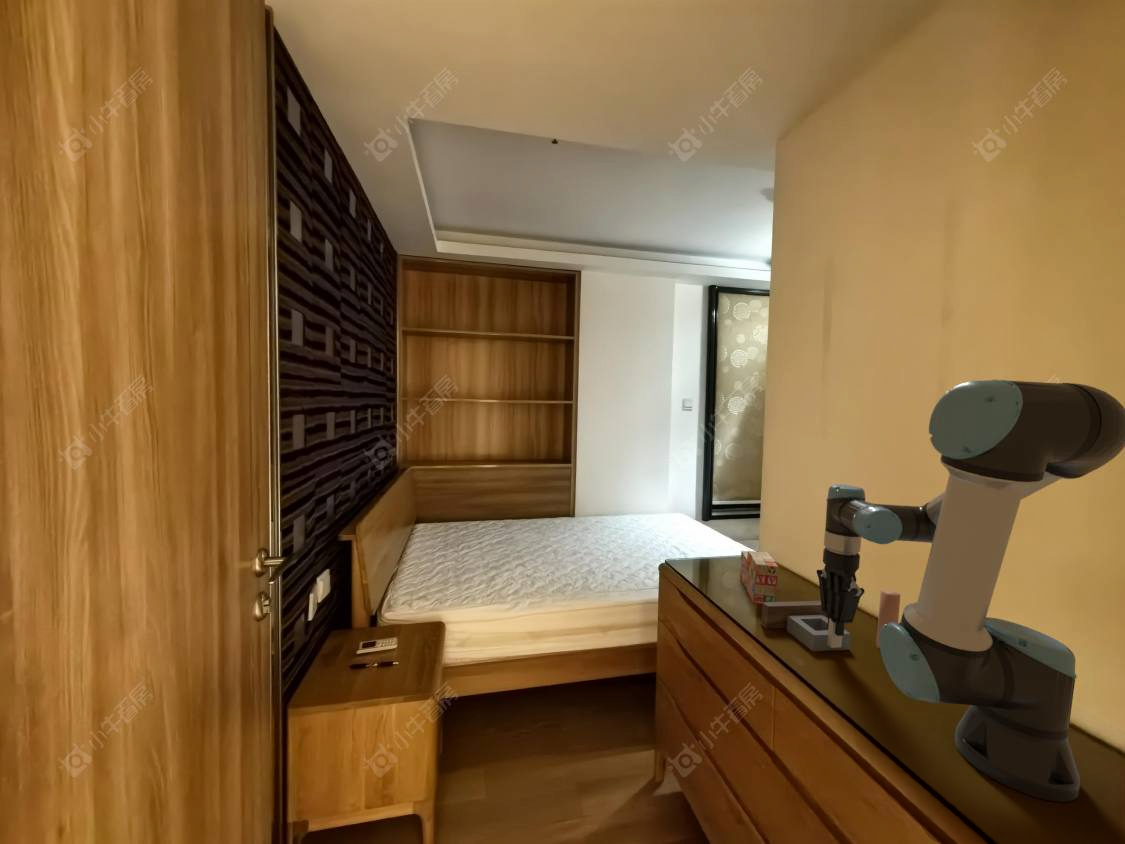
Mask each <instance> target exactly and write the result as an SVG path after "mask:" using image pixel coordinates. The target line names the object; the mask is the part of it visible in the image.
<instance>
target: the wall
mask: <svg viewBox="0 0 1125 844" xmlns="http://www.w3.org/2000/svg"><path fill="white" fill-rule="evenodd" d="M761 606H762V609H761V621H760V622H761V623H760V625H761V624H762V625H761V626H762V627H764V628H765V627H766V628H770V629H787V618H788V616H793V615H823V616H825V617H826V618H828V617H827V614H826V612H825V611H822V608H821V600H804V601H803V600H801V601H800V600H799V601H776V602H763V605H761ZM826 606H827V605H826ZM766 628H765V629H766Z"/></svg>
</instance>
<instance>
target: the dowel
mask: <svg viewBox="0 0 1125 844" xmlns="http://www.w3.org/2000/svg"><path fill="white" fill-rule="evenodd" d="M900 606H901V594H900V593H899V592H897V591H894V590H891V589H881V590H880V593H879V609H878V618H877V619H878V621H877V630H876V631H877V633H876V643H875V645H876V648H878V649H879V650H880V642H879V638H880V631H881V629H882V627H883V626H884V625H886V624H888V623H891V622H895V623H898V624H899V617H900Z"/></svg>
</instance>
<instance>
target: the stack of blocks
mask: <svg viewBox="0 0 1125 844" xmlns="http://www.w3.org/2000/svg"><path fill="white" fill-rule="evenodd" d="M778 575H779V565H778V564H777V563H776V561H775V559H774V558H773V557H772V555H770V554H769V552H767V551H754V550H746V551H745V550H741V553H740V577H739V578H740V579H741V582H742V584H743V586H744V588H745V589H746V591H747V593H748V596H749V597H750V599H751V602H752V604H755V605H761V606H763V602H777V601H776V600H777V586H778V577H779V576H778Z"/></svg>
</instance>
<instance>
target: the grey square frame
mask: <svg viewBox="0 0 1125 844" xmlns="http://www.w3.org/2000/svg"><path fill="white" fill-rule="evenodd" d="M827 625H828V618H826V617H825V616H823V615H793V616H788V618H787V628H786V631H787V632H788V633H789V634H790V635H792V636H793V637H794V638H795V639H796V640H798V641H799V642H800V643H801V644H802V645H804V646H805V647H807V649H809V650H810V651H812V652H824V651H825V652H827V651H828V652H829V651H846V650H850V649H851V648H850V646H851V637H852V636H851V634H852V633H850V632H849V631H848V630H846V629H844V635H843V636H842V645H841V647H838V648H831V647H830V646H828V645H827V641H828V628H827Z"/></svg>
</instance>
